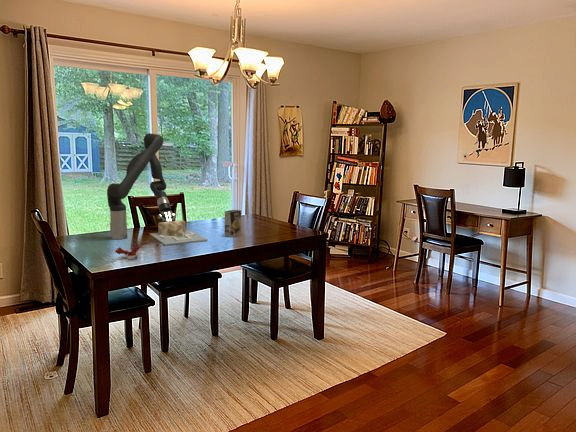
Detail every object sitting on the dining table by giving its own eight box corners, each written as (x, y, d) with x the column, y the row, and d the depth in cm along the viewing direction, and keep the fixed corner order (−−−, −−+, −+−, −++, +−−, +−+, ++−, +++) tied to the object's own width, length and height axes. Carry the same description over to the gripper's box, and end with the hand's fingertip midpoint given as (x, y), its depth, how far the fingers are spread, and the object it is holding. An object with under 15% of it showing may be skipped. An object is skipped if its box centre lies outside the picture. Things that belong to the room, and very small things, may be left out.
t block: (165, 238, 273) (165, 226, 272) (158, 233, 286) (158, 222, 285) (191, 235, 282) (191, 224, 281) (183, 231, 294) (182, 220, 293)
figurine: (123, 263, 223) (122, 250, 222) (110, 259, 230) (110, 246, 229) (149, 257, 234) (149, 244, 233) (136, 253, 241) (136, 241, 240)
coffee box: (231, 237, 283) (231, 212, 280) (224, 235, 287) (224, 210, 284) (241, 235, 290) (241, 210, 287) (234, 233, 294) (234, 209, 291)
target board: (164, 245, 258) (164, 242, 258) (149, 235, 285) (149, 232, 285) (207, 241, 272) (207, 237, 272) (189, 231, 299) (189, 228, 298)
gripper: (155, 202, 292) (161, 224, 284) (175, 201, 299) (181, 222, 291) (152, 209, 297) (159, 231, 289) (172, 208, 304) (179, 229, 296)
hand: (170, 227), depth 290 cm, fingers closed
